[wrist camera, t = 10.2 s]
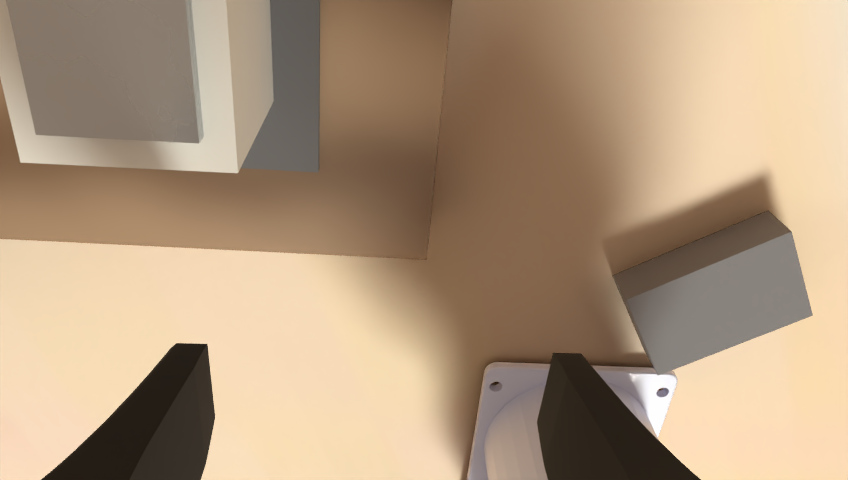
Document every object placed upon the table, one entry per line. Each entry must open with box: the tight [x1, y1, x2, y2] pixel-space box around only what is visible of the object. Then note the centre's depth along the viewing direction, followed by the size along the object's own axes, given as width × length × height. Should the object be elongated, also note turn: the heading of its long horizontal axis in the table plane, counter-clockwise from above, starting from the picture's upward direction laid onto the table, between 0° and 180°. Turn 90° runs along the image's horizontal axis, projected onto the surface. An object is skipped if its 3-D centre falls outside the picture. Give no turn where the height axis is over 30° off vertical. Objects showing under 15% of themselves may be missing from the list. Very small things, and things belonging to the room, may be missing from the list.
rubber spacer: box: [613, 211, 812, 375], centre depth 25 cm, size 4×6×2 cm, turn 116°
